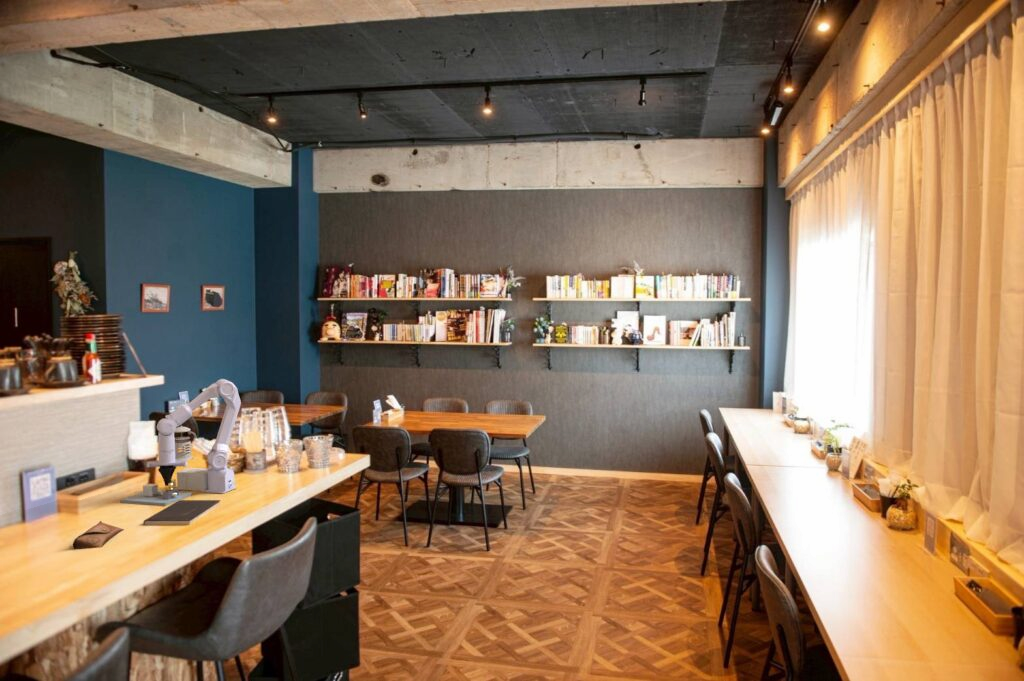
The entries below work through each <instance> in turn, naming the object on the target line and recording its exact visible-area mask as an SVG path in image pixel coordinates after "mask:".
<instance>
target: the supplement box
mask: <svg viewBox="0 0 1024 681" xmlns="http://www.w3.org/2000/svg"><path fill="white" fill-rule="evenodd" d="M176 488H179V491H196V492H197V491H199V492H203V491H204V490H206V489H208V470H207V468H202V467H201V468H200V467H187V468H184V469H182V470H179V471H177V472H176Z"/></svg>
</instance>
